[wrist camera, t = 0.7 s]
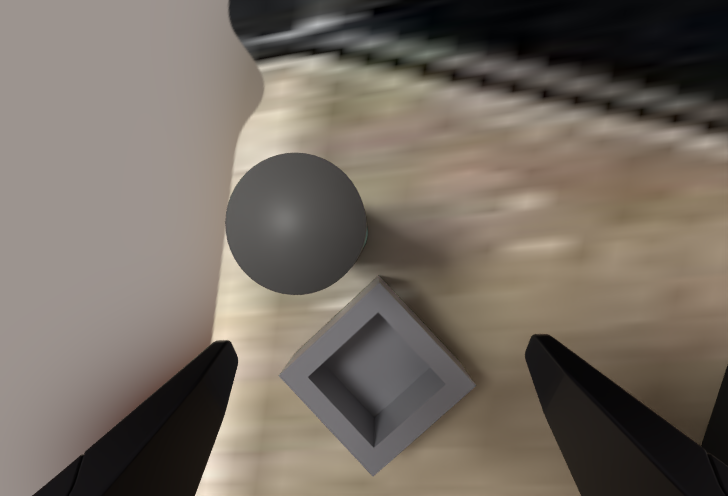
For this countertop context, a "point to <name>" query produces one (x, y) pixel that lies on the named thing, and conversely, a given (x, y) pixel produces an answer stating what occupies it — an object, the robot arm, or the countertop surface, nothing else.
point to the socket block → (376, 376)
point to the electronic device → (718, 425)
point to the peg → (295, 223)
